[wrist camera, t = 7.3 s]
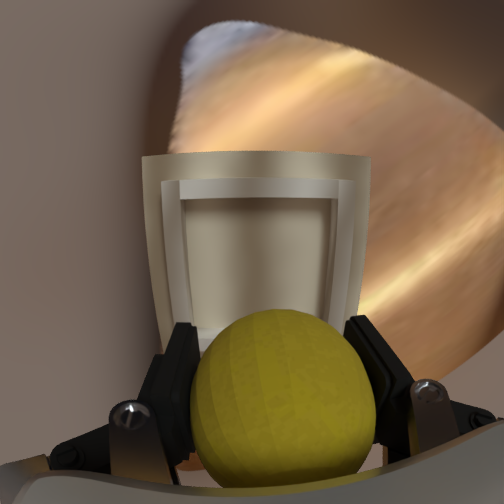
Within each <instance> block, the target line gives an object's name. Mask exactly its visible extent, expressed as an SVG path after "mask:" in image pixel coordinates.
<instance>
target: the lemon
mask: <svg viewBox="0 0 504 504" xmlns="http://www.w3.org/2000/svg"><path fill="white" fill-rule="evenodd" d="M375 423H376V409H375V401H374V395H373V391H372V387H371V384H370V381H369V379H368V376H367V373H366V371H365V368H364V366H363V363H362V361H361V359H360V357H359V356H358V354H357V352H356V351H355V349H354V348H353V347H352V346H351V345H350V344H349V342H348V341H347V340H346V339H345V338H344V337H343V336H342V335H341V334H340V333H339V332H338V331H337V330H336V329H335V328H334V327H332V326H331V325H329V324H328V323H326V322H324V321H322V320H321V319H319V318H317V317H315V316H313V315H311V314H308V313H304V312H300V311H296V310H292V309H270V310H265V311H259V312H254V313H252V314H250V315H247V316H245V317H242V318H240V319H237V320H236V321H235V322H233V323H232V324H230V325H229V326H228V327H226V328H225V329H223V330H222V331H221V332H220V333H219V334H218V335H217V336H216V338H215V339H214V340H213V341H212V342H211V344H210V345H209V346H208V347H207V349H206V350H205V352H204V354H203V356H202V358H201V360H200V363H199V365H198V368H197V370H196V373H195V375H194V378H193V382H192V386H191V393H190V424H191V432H192V437H193V441H194V445H195V449H196V451H197V453H198V456H199V458H200V460H201V462H202V464H203V465H204V467H205V469H206V470H207V472H208V473H209V475H210V476H211V477H212V478H213V479H214V480H215V481H216V482H217V483H218V484H219V485H220V486H221V487H223V488H258V487H274V486H285V485H295V484H303V483H310V482H316V481H322V480H328V479H333V478H338V477H343V476H347V475H352V474H356V473H357V472H358V470H359V469H360V468H361V466H362V464H363V463H364V461H365V460H366V458H367V455H368V454H369V452H370V450H371V447H372V444H373V440H374V434H375Z"/></svg>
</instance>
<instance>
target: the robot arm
mask: <svg viewBox="0 0 504 504" xmlns="http://www.w3.org/2000/svg"><path fill="white" fill-rule="evenodd" d="M343 337H344V338H345V339H346V340H347V341H348V342H349V344H350V345H351V346H352V347H353V348H354V349H355V351H356V352H357V354H358V356H359V357H360V359H361V361H362V363H363V366H364V368H365V371H366V373H367V376H368V379H369V381H370V384H371V387H372V391H373V395H374V401H375V409H376V423H375V434H374V440H373V444H376V443H380V444H381V445H383V466H382V467H379V468H375V469H372V470H368V471H364V472H360V473H356V474H352V475H347V476H343V477H338V478H333V479H328V480H322V481H316V482H310V483H303V484H295V485H285V486H274V487H258V488H207V487H191V486H181V483H180V479H179V476H178V473H177V469H176V465H178V464H180V463H181V462H182V461H183V460H189V455H190V453H195V445H194V441H193V437H192V432H191V424H190V393H191V386H192V382H193V378H194V375H195V373H196V370H197V368H198V365H199V363H200V360H201V357H200V349H199V341H198V332H197V327H196V326H192V324H191V322H176V324H175V326H174V329H173V331H172V334H171V337H170V339H169V342H168V345H167V347H166V350H165V353H164V355H163V354H156V355H155V356H154V358H153V360H152V363H151V365H150V368H149V370H148V372H147V375H146V377H145V380H144V383H143V385H142V388H141V390H140V393H139V396H138V398H137V400H126V401H122V402H120V403H118V404H117V405H115V406H114V407H113V408H112V410H111V411H110V414H109V424H107V425H104V426H102V427H100V428H97V429H95V430H93V431H90V432H88V433H85V434H83V435H81V436H78V437H76V438H73V439H70V440H68V441H65V442H62V443H60V444H59V445H57V446H56V447H55V448H54V449H53V450H52V452H51V454H50V456H46V455H45V454H42V455H38V456H34V457H31V458H27V459H23V460H19V461H15V462H10V463H6V464H3V465H1V466H0V501H1V504H504V418H500V417H498V418H497V419H496V418H495V416H494V415H493V414H492V413H491V412H489V411H487V410H485V409H481V408H478V407H473V406H470V405H466V404H462V403H459V402H455V401H452V400H450V399H449V396H448V393H447V390H446V388H445V387H444V386H443V385H442V384H441V383H439V382H437V381H435V380H432V379H420V380H418V381H416V382H415V381H414V379H413V378H412V376H411V374H410V373H409V371H408V370H407V369H406V367H405V366H404V365H403V363H402V362H401V361H400V359H399V358H398V357H397V355H396V354H395V353H394V351H393V350H392V349H391V348H390V346H389V345H388V344H387V342H386V341H385V340H384V338H383V337H382V336H381V335H380V333H379V332H378V331H377V330H376V328H375V327H374V326H373V324H372V323H371V322H370V321H369V319H368V318H367V317H366V316H365V315H358V316H351V317H350V319H349V320H346V322H345V327H344V333H343Z"/></svg>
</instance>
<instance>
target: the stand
mask: <svg viewBox="0 0 504 504" xmlns="http://www.w3.org/2000/svg"><path fill="white" fill-rule="evenodd" d="M370 172H371V157H366V156H356V155H345V154H332V153H316V152H295V151H216V152H195V153H179V154H166V155H156V156H145V157H142V178H143V200H144V215H145V228H146V239H147V249H148V258H149V267H150V274H151V282H152V289H153V296H154V303H155V309H156V315H157V321H158V327H159V332H160V337H161V342H162V348H163V352H164V353H165V350H166V347H167V345H168V342H169V339H170V337H171V334H172V331H173V329H174V326H175V324H176V322H191V324H192V326H196V327H197V332H198V341H199V349H200V357H201V358H202V356H203V354H204V352H205V350H206V349H207V347H208V346H209V345H210V344H211V342H212V341H213V340H214V339H215V338H216V336H217V335H218V334H219V333H220V332H221V331H222V330H223V329H225V328H226V327H228V326H229V325H230V324H232V323H233V322H235V321H236V320H237V319H240V318H242V317H245V316H247V315H250V314H252V313H254V312H259V311H265V310H270V309H292V310H296V311H300V312H304V313H308V314H311V315H313V316H315V317H317V318H319V319H321V320H322V321H324V322H326V323H328V324H329V325H331V326H332V327H334V328H335V329H336V330H337V331H338V332H339V333H340V334H341V335H342V336H343V333H344V327H345V322H346V320H349V319H350V317H351V316H357V311H358V305H359V299H360V292H361V285H362V278H363V270H364V261H365V252H366V242H367V231H368V217H369V200H370Z"/></svg>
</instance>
